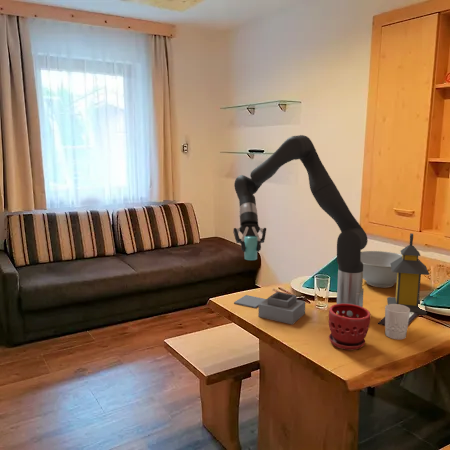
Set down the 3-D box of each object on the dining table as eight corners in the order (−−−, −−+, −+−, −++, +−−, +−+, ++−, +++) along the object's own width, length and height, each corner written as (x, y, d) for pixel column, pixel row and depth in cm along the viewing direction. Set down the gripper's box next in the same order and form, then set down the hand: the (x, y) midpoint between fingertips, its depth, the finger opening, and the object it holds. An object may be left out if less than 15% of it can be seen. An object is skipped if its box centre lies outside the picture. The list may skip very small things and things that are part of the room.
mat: (266, 300, 189) (266, 299, 189) (255, 308, 181) (255, 306, 181) (245, 296, 194) (245, 294, 194) (234, 303, 186) (234, 302, 186)
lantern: (388, 311, 177) (393, 236, 171) (387, 298, 191) (391, 229, 185) (427, 315, 173) (433, 238, 167) (423, 302, 186) (429, 231, 181)
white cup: (396, 342, 151) (398, 314, 149) (378, 333, 158) (380, 306, 156) (412, 337, 154) (415, 309, 152) (394, 328, 161) (396, 302, 159)
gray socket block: (304, 313, 175) (305, 295, 174) (292, 324, 165) (292, 305, 164) (272, 306, 182) (272, 288, 181) (258, 316, 172) (258, 298, 171)
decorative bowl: (376, 271, 228) (378, 248, 226) (423, 286, 206) (425, 260, 203) (337, 280, 215) (339, 255, 212) (383, 297, 192) (385, 270, 190)
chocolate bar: (377, 322, 165) (394, 308, 179) (377, 325, 165) (394, 310, 179) (403, 329, 160) (418, 313, 173) (402, 331, 160) (418, 315, 174)
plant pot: (334, 354, 143) (335, 318, 141) (323, 336, 156) (324, 303, 153) (374, 353, 144) (377, 317, 141) (360, 335, 156) (362, 302, 154)
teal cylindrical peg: (259, 258, 185) (259, 236, 183) (253, 261, 180) (253, 239, 179) (248, 256, 187) (248, 235, 186) (241, 259, 183) (242, 237, 181)
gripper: (232, 211, 187) (234, 246, 178) (266, 210, 188) (270, 246, 179) (231, 221, 193) (233, 255, 184) (264, 220, 194) (268, 255, 185)
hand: (251, 250), depth 181 cm, fingers closed on teal cylindrical peg, 5 cm apart
